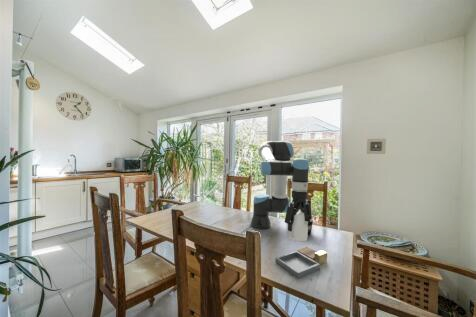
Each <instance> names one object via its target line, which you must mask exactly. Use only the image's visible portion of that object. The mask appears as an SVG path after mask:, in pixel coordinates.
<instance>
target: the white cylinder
mask: <svg viewBox="0 0 476 317" xmlns="http://www.w3.org/2000/svg"><path fill="white" fill-rule="evenodd" d="M293 224H294V238H291V237H289V236H288V239H290V240H293V241H295V242H306V241H307V240H308V236H309V235H308V226H307V225H306V224H305V216H304V213H303V212H301V210H299V211H298V212H297V214H296V215H294V222H293Z"/></svg>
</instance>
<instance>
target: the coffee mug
mask: <svg viewBox="0 0 476 317" xmlns="http://www.w3.org/2000/svg"><path fill="white" fill-rule="evenodd" d="M313 222H314V219H313V218H311V219H310V222H309V221H308V236H311V235H312V229H313Z"/></svg>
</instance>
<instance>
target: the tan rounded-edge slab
mask: <svg viewBox="0 0 476 317" xmlns="http://www.w3.org/2000/svg"><path fill="white" fill-rule="evenodd" d="M296 251H298V252H299V253H301V254H303V255H305V256H306V257H308V258H310V259H312V260H314V258H315V253H316V252H317V251H316V250H314V249H312V248H310V247H308V246H305V247H302V248H299V249H297V250H296Z"/></svg>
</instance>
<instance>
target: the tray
mask: <svg viewBox="0 0 476 317" xmlns="http://www.w3.org/2000/svg"><path fill="white" fill-rule="evenodd" d="M274 261H275V262H274V263H276V265H278V266H280V267H281V268H282V269H284V270H285V271H287V273H289V274H291V275H292V276H293V277H294V278H296V279H301V278H303V277H306V276H307V275H310V274H312V273H314V272H315V273H316V272H318V271H319V270H321V265H320V264H319V263H317V262H315V261H314V260H312V259H310V258H308V257H306V256H305V255H303V254H301V253H299V252H298V251H297V250H295V251H291V252H289V253H285V254H282V255H279V256H276V257H275V260H274Z"/></svg>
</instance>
